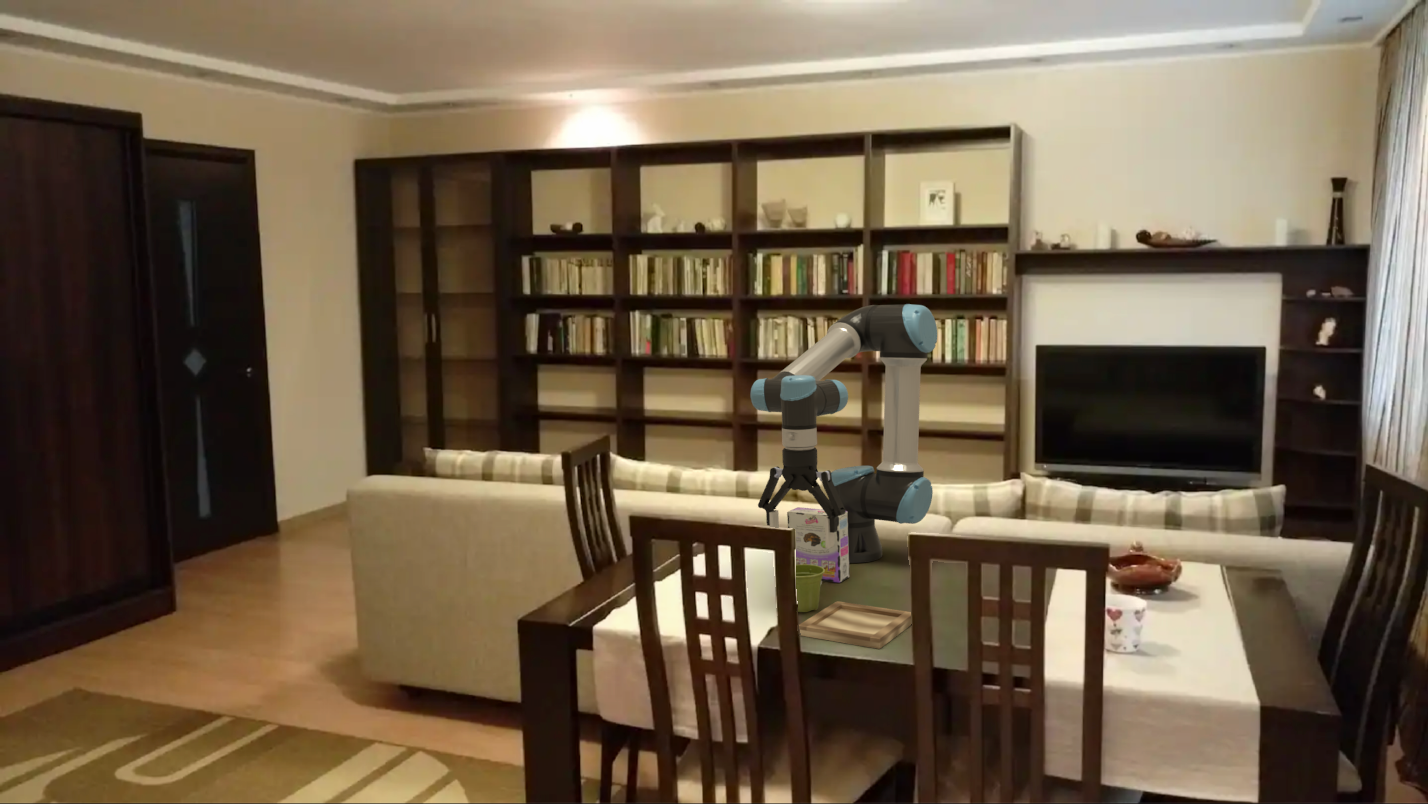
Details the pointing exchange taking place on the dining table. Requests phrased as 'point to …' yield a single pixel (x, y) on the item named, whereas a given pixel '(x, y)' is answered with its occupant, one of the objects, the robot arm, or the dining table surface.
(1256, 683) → the dining table surface
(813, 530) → the candy box
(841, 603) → the wooden tray
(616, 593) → the dining table surface
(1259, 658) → the dining table surface
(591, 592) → the dining table surface
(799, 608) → the plant pot
